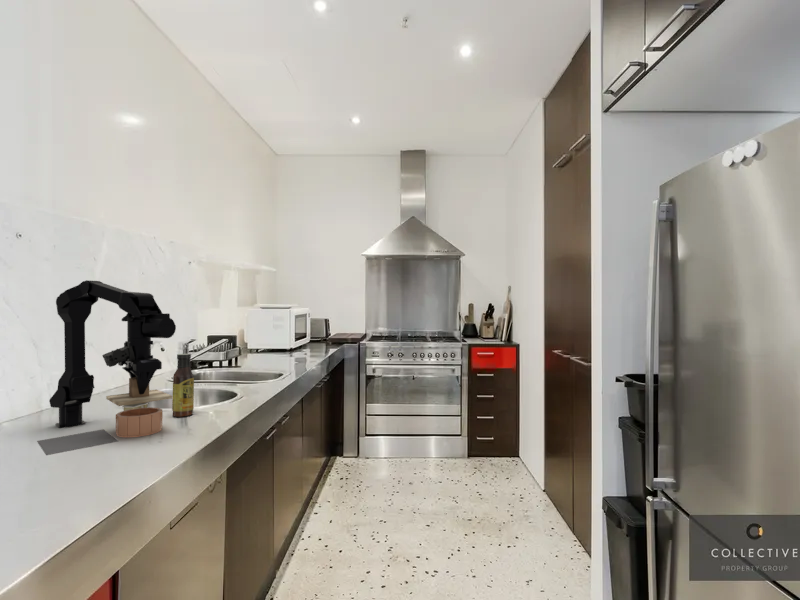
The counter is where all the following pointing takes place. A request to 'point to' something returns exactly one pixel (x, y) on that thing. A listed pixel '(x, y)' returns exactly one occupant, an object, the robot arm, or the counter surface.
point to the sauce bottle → (183, 387)
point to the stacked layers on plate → (135, 406)
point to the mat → (76, 441)
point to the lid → (137, 395)
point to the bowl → (138, 422)
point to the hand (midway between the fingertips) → (139, 393)
